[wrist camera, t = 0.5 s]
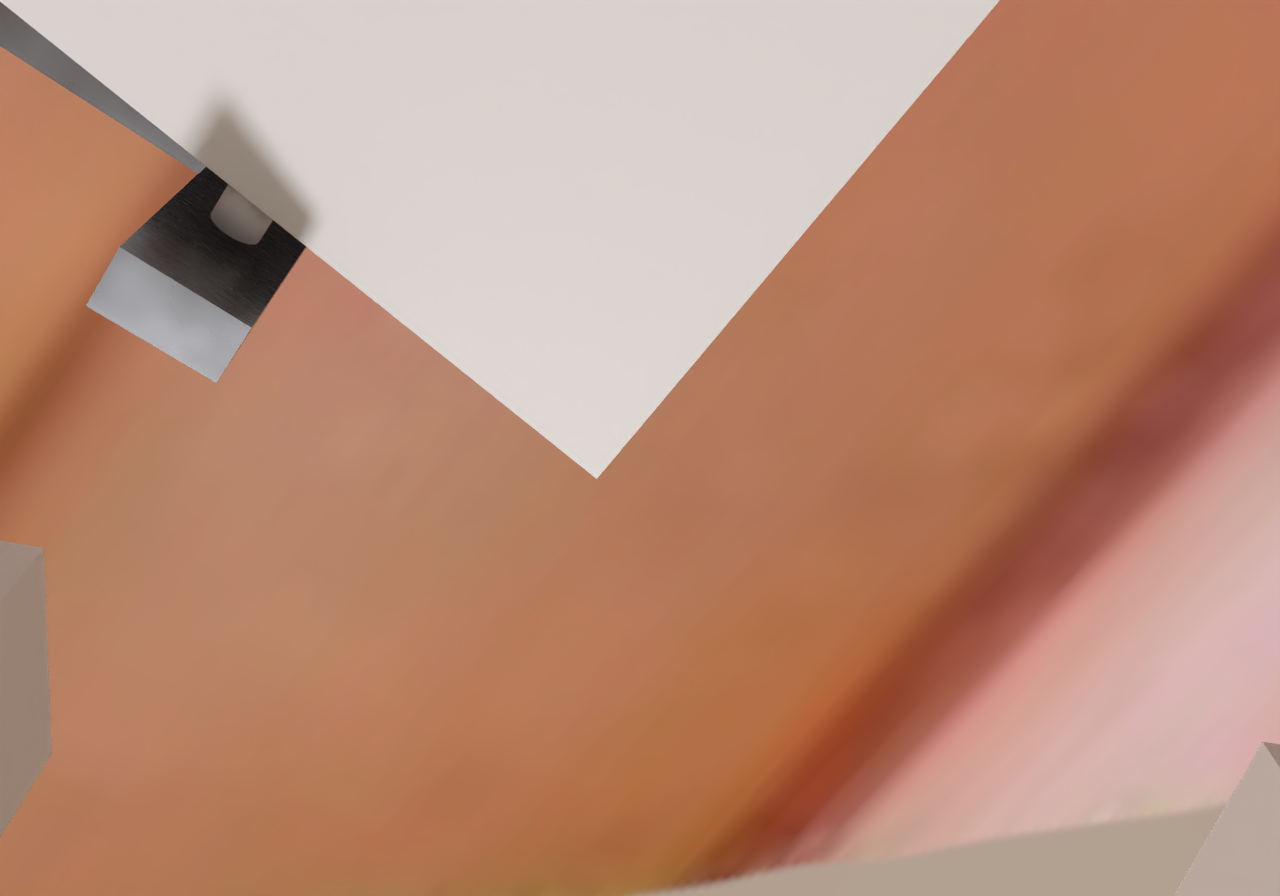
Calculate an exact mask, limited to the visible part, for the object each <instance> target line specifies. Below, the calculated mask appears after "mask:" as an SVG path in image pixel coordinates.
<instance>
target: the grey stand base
mask: <svg viewBox="0 0 1280 896" xmlns="http://www.w3.org/2000/svg"><path fill="white" fill-rule="evenodd" d="M0 46H1V47H3V48H4V49H6V50H8V51H9V52H11V53H12V54H14V55H15V56H17V57H18V58H20V59H21V60H23V61H25V62H26V63H28V64H29V65H31V66H32V67H34V68H35V69H37V70H39V71H40V72H42V73H43V74H45V75H46V76H48V77H49V78H51V79H52V80H54V81H56V82H57V83H59V84H60V85H62V86H63V87H65V88H66V89H68V90H69V91H71V92H73V93H74V94H76V95H77V96H79V97H80V98H82V99H83V100H85V101H87V102H88V103H90V104H91V105H93V106H94V107H96V108H97V109H99V110H100V111H102V112H104V113H105V114H107V115H108V116H110V117H111V118H113V119H114V120H116V121H117V122H119V123H121V124H122V125H124V126H125V127H127V128H128V129H130V130H131V131H133V132H135V133H136V134H138V135H139V136H141V137H142V138H144V139H145V140H147V141H148V142H150V143H152V144H153V145H155V146H156V147H158V148H159V149H161V150H162V151H164V152H166V153H167V154H169V155H170V156H172V157H173V158H175V159H176V160H178V161H179V162H181V163H183V164H184V165H186V166H187V167H189V168H190V169H192V170H193V171H195V172H196V173H198V175H197V176H195V177H194V178H193V179H192V180H191V181H190V182H189V183H188V184H187V185H186V186H185V187H184V188H183V189H181V190H180V191H179V192H178V193H177V194H176V195H175V196H174V197H173V198H172V199H171V200H170V201H169V202H168V203H166V204H165V205H164V206H163V207H162V208H161V209H160V210H159V211H158V212H157V213H156V214H155V215H154V216H152V217H151V218H150V219H149V220H148V221H147V222H146V223H145V224H144V225H143V226H142V227H141V228H140V229H138V230H137V231H136V232H135V233H134V234H133V235H132V236H131V237H130V238H129V239H128V240H127V241H126V242H125V243H123V244H122V245H121V246H120V247H119V249H118V251H117V253H116V254H115V256H114V258H113V260H112V261H111V263H110V265H109V267H108V268H107V270H106V272H105V274H104V275H103V277H102V279H101V281H100V282H99V284H98V286H97V288H96V289H95V291H94V293H93V295H92V296H91V298H90V300H89V302H88V303H87V305H86V306H87V307H89V308H91V309H92V310H94V311H96V312H97V313H99V314H101V315H102V316H104V317H106V318H107V319H109V320H111V321H113V322H114V323H116V324H118V325H119V326H121V327H123V328H124V329H126V330H128V331H130V332H131V333H133V334H135V335H136V336H138V337H140V338H141V339H143V340H145V341H146V342H148V343H150V344H152V345H153V346H155V347H157V348H158V349H160V350H162V351H163V352H165V353H167V354H168V355H170V356H172V357H174V358H175V359H177V360H179V361H180V362H182V363H184V364H185V365H187V366H189V367H190V368H192V369H194V370H196V371H197V372H199V373H201V374H202V375H204V376H206V377H207V378H209V379H211V380H212V381H214V382H217V381H218V379H219V378H220V376H221V375H222V373H223V372H224V370H225V369H226V367H227V366H228V364H229V363H230V361H231V360H232V358H233V357H234V355H235V354H236V352H237V351H238V349H239V348H240V346H241V345H242V343H243V342H244V340H245V339H246V337H247V336H248V334H249V333H250V331H251V330H252V328H253V327H254V325H255V324H256V322H257V321H258V319H259V318H260V316H261V315H262V313H263V312H264V310H265V309H266V307H267V306H268V304H269V303H270V301H271V300H272V298H273V297H274V295H275V294H276V292H277V291H278V289H279V288H280V286H281V285H282V283H283V282H284V280H285V279H286V277H287V276H288V274H289V273H290V271H291V270H292V268H293V267H294V265H295V264H296V262H297V261H298V259H299V258H300V256H301V255H302V253H303V252H304V250H305V249H306V246H305V245H304V244H303V243H301V242H300V241H299V240H298V239H296V238H295V237H294V236H293V235H291V234H290V233H289V232H288V231H286V230H285V229H284V228H283V227H281V226H280V225H279V224H278V223H276V222H275V221H274V220H273V221H272V222H271V224H270V225H269V227H268V229H267V230H266V232H265V233H264V235H263V237H262V238H261V240H260V241H259V243H257V244H246V243H243V242H240V241H237V240H235V239H233V238H231V237H230V236H228V235H227V234H225V233H224V232H222V231H221V230H220V229H219V228H218V227H217V226H216V225H215V224H214V222H213V221H212V219H211V212H212V210H213V209H214V207H215V205H216V204H217V202H218V200H219V199H220V197H221V195H222V194H223V192H224V190H225V189H226V187H227V185H228V183H226V182H225V181H224V180H223V179H221V178H220V177H219V176H218V175H216V174H215V173H214V172H213V171H211V170H210V169H209V168H208V167H206V166H205V165H204V164H203V163H201V162H200V161H199V160H198V159H196V158H195V157H194V156H193V155H191V154H190V153H189V152H188V151H186V150H185V149H184V148H183V147H181V146H180V145H179V144H178V143H176V142H175V141H174V140H173V139H171V138H170V137H169V136H168V135H166V134H165V133H164V132H163V131H161V130H160V129H159V128H158V127H156V126H155V125H154V124H153V123H151V122H150V121H149V120H148V119H146V118H145V117H144V116H143V115H141V114H140V113H139V112H138V111H136V110H135V109H134V108H133V107H131V106H130V105H129V104H128V103H126V102H125V101H124V100H123V99H121V98H120V97H119V96H118V95H116V94H115V93H114V92H113V91H111V90H110V89H109V88H108V87H106V86H105V85H104V84H103V83H101V82H100V81H99V80H98V79H96V78H95V77H94V76H93V75H91V74H90V73H89V72H88V71H86V70H85V69H84V68H83V67H81V66H80V65H79V64H78V63H76V62H75V61H74V60H73V59H71V58H70V57H69V56H68V55H66V54H65V53H64V52H63V51H61V50H60V49H59V48H58V47H56V46H55V45H54V44H53V43H51V42H50V41H49V40H48V39H46V38H45V37H44V36H43V35H41V34H40V33H39V32H38V31H36V30H35V29H34V28H33V27H31V26H30V25H29V24H28V23H26V22H25V21H24V20H23V19H21V18H20V17H19V16H18V15H16V14H15V13H14V12H13V11H11V10H10V9H9V8H8V7H6V6H5V5H4V4H3V3H1V2H0Z"/></svg>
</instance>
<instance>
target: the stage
mask: <svg viewBox="0 0 1280 896" xmlns="http://www.w3.org/2000/svg"><path fill="white" fill-rule="evenodd" d="M0 2H1V3H3V4H4V5H5V6H6V7H8V8H9V9H10V10H11V11H13V12H14V13H15V14H16V15H18V16H19V17H20V18H21V19H23V20H24V21H25V22H26V23H28V24H29V25H30V26H31V27H33V28H34V29H35V30H36V31H38V32H39V33H40V34H41V35H43V36H44V37H45V38H46V39H48V40H49V41H50V42H51V43H53V44H54V45H55V46H56V47H58V48H59V49H60V50H61V51H63V52H64V53H65V54H66V55H68V56H69V57H70V58H71V59H73V60H74V61H75V62H76V63H78V64H79V65H80V66H81V67H83V68H84V69H85V70H86V71H88V72H89V73H90V74H91V75H93V76H94V77H95V78H96V79H98V80H99V81H100V82H101V83H103V84H104V85H105V86H106V87H108V88H109V89H110V90H111V91H113V92H114V93H115V94H116V95H118V96H119V97H120V98H121V99H123V100H124V101H125V102H126V103H128V104H129V105H130V106H131V107H133V108H134V109H135V110H136V111H138V112H139V113H140V114H141V115H143V116H144V117H145V118H146V119H148V120H149V121H150V122H151V123H153V124H154V125H155V126H156V127H158V128H159V129H160V130H161V131H163V132H164V133H165V134H166V135H168V136H169V137H170V138H171V139H173V140H174V141H175V142H176V143H178V144H179V145H180V146H181V147H183V148H184V149H185V150H186V151H188V152H189V153H190V154H191V155H193V156H194V157H195V158H196V159H198V160H199V161H200V162H201V163H203V164H204V165H205V166H206V167H208V168H209V169H210V170H211V171H213V172H214V173H215V174H216V175H218V176H219V177H220V178H221V179H223V180H224V181H225V182H226V183H228V185H227V187H226V189H225V190H224V192H223V194H222V195H221V197H220V199H219V200H218V202H217V204H216V205H215V207H214V209H213V210H212V212H211V219H212V221H213V222H214V224H215V225H216V226H217V227H218V228H219V229H220V230H221V231H222V232H224V233H225V234H227V235H228V236H230V237H231V238H233V239H235V240H237V241H240V242H243V243H246V244H257V243H259V241H260V240H261V238H262V237H263V235H264V233H265V232H266V230H267V229H268V227H269V225H270V224H271V222H272V221H273V220H274V221H275V222H276V223H278V224H279V225H280V226H281V227H283V228H284V229H285V230H286V231H288V232H289V233H290V234H291V235H293V236H294V237H295V238H296V239H298V240H299V241H300V242H301V243H303V244H304V245H305V246H306V247H308V248H309V249H310V250H311V251H313V252H314V253H315V254H316V255H318V256H319V257H320V258H321V259H323V260H324V261H325V262H326V263H328V264H329V265H330V266H331V267H333V268H334V269H335V270H336V271H338V272H339V273H340V274H341V275H343V276H344V277H345V278H346V279H348V280H349V281H350V282H351V283H353V284H354V285H355V286H356V287H358V288H359V289H360V290H361V291H363V292H364V293H365V294H366V295H368V296H369V297H370V298H371V299H373V300H374V301H375V302H376V303H378V304H379V305H380V306H381V307H383V308H384V309H385V310H386V311H388V312H389V313H390V314H391V315H393V316H394V317H395V318H396V319H398V320H399V321H400V322H401V323H403V324H404V325H405V326H406V327H408V328H409V329H410V330H411V331H413V332H414V333H415V334H416V335H418V336H419V337H420V338H421V339H423V340H424V341H425V342H426V343H428V344H429V345H430V346H431V347H433V348H434V349H435V350H436V351H438V352H439V353H440V354H441V355H443V356H444V357H445V358H446V359H448V360H449V361H450V362H451V363H453V364H454V365H455V366H456V367H458V368H459V369H460V370H461V371H463V372H464V373H465V374H466V375H468V376H469V377H470V378H471V379H473V380H474V381H475V382H476V383H478V384H479V385H480V386H481V387H483V388H484V389H485V390H486V391H488V392H489V393H490V394H491V395H493V396H494V397H495V398H496V399H498V400H499V401H500V402H501V403H503V404H504V405H505V406H506V407H508V408H509V409H510V410H511V411H513V412H514V413H515V414H516V415H518V416H519V417H520V418H521V419H523V420H524V421H525V422H526V423H528V424H529V425H530V426H531V427H533V428H534V429H535V430H536V431H538V432H539V433H540V434H541V435H543V436H544V437H545V438H546V439H548V440H549V441H550V442H551V443H553V444H554V445H555V446H556V447H558V448H559V449H560V450H561V451H563V452H564V453H565V454H566V455H568V456H569V457H570V458H571V459H573V460H574V461H575V462H576V463H578V464H579V465H580V466H581V467H583V468H584V469H585V470H586V471H588V472H589V473H590V474H591V475H593V476H594V477H595V478H596V479H597V478H598V477H599V475H600V474H601V473H602V472H603V471H604V470H605V468H606V467H607V466H608V465H609V464H610V462H611V461H612V460H613V459H614V458H615V456H616V455H617V454H618V453H619V452H620V451H621V449H622V448H623V447H624V446H625V445H626V443H627V442H628V441H629V440H630V439H631V437H632V436H633V435H634V434H635V433H636V432H637V430H638V429H639V428H640V427H641V426H642V424H643V423H644V422H645V421H646V420H647V418H648V417H649V416H650V415H651V414H652V413H653V411H654V410H655V409H656V408H657V407H658V405H659V404H660V403H661V402H662V401H663V399H664V398H665V397H666V396H667V395H668V394H669V392H670V391H671V390H672V389H673V388H674V386H675V385H676V384H677V383H678V382H679V380H680V379H681V378H682V377H683V376H684V375H685V373H686V372H687V371H688V370H689V369H690V367H691V366H692V365H693V364H694V363H695V361H696V360H697V359H698V358H699V357H700V356H701V354H702V353H703V352H704V351H705V350H706V348H707V347H708V346H709V345H710V344H711V342H712V341H713V340H714V339H715V338H716V337H717V335H718V334H719V333H720V332H721V331H722V329H723V328H724V327H725V326H726V325H727V323H728V322H729V321H730V320H731V319H732V318H733V316H734V315H735V314H736V313H737V312H738V310H739V309H740V308H741V307H742V306H743V304H744V303H745V302H746V301H747V300H748V299H749V297H750V296H751V295H752V294H753V293H754V291H755V290H756V289H757V288H758V287H759V285H760V284H761V283H762V282H763V281H764V280H765V278H766V277H767V276H768V275H769V274H770V272H771V271H772V270H773V269H774V268H775V266H776V265H777V264H778V263H779V262H780V261H781V259H782V258H783V257H784V256H785V255H786V253H787V252H788V251H789V250H790V249H791V247H792V246H793V245H794V244H795V243H796V242H797V240H798V239H799V238H800V237H801V236H802V234H803V233H804V232H805V231H806V230H807V228H808V227H809V226H810V225H811V224H812V223H813V221H814V220H815V219H816V218H817V217H818V215H819V214H820V213H821V212H822V211H823V209H824V208H825V207H826V206H827V205H828V204H829V202H830V201H831V200H832V199H833V198H834V196H835V195H836V194H837V193H838V192H839V190H840V189H841V188H842V187H843V186H844V185H845V183H846V182H847V181H848V180H849V179H850V177H851V176H852V175H853V174H854V173H855V171H856V170H857V169H858V168H859V167H860V165H861V164H862V163H863V162H864V161H865V160H866V158H867V157H868V156H869V155H870V154H871V152H872V151H873V150H874V149H875V148H876V146H877V145H878V144H879V143H880V142H881V141H882V139H883V138H884V137H885V136H886V135H887V133H888V132H889V131H890V130H891V129H892V127H893V126H894V125H895V124H896V123H897V122H898V120H899V119H900V118H901V117H902V116H903V114H904V113H905V112H906V111H907V110H908V108H909V107H910V106H911V105H912V104H913V103H914V101H915V100H916V99H917V98H918V97H919V95H920V94H921V93H922V92H923V91H924V89H925V88H926V87H927V86H928V85H929V84H930V82H931V81H932V80H933V79H934V78H935V76H936V75H937V74H938V73H939V72H940V70H941V69H942V68H943V67H944V66H945V65H946V63H947V62H948V61H949V60H950V59H951V57H952V56H953V55H954V54H955V53H956V51H957V50H958V49H959V48H960V47H961V46H962V44H963V43H964V42H965V41H966V40H967V38H968V37H969V36H970V35H971V34H972V32H973V31H974V30H975V29H976V28H977V27H978V25H979V24H980V23H981V22H982V21H983V19H984V18H985V17H986V16H987V15H988V13H989V12H990V11H991V10H992V9H993V8H994V6H995V5H996V4H997V3H998V2H999V0H0Z"/></svg>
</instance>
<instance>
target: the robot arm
mask: <svg viewBox="0 0 1280 896" xmlns="http://www.w3.org/2000/svg"><path fill="white" fill-rule="evenodd" d="M51 754H52V737H51V713H50V689H49V665H48V642H47V618H46V594H45V570H44V548H42V547H36V546H29V545H23V544H17V543H11V542H4V541H0V837H1V835H2V833H3V832H4V830H5V828H6V827H7V825H8V824H9V822H10V820H11V819H12V817H13V816H14V814H15V812H16V811H17V809H18V807H19V806H20V804H21V803H22V801H23V799H24V798H25V796H26V795H27V793H28V791H29V790H30V788H31V786H32V785H33V783H34V782H35V780H36V778H37V777H38V775H39V774H40V772H41V770H42V769H43V767H44V765H45V764H46V762H47V761H48V759H49V757H50V756H51ZM1174 896H1280V745H1279V744H1273V743H1267V742H1262V744H1261V746H1260V747H1259V749H1258V751H1257V753H1256V754H1255V756H1254V758H1253V759H1252V761H1251V763H1250V765H1249V766H1248V768H1247V770H1246V772H1245V773H1244V775H1243V777H1242V779H1241V780H1240V782H1239V784H1238V785H1237V787H1236V789H1235V791H1234V792H1233V794H1232V796H1231V798H1230V799H1229V801H1228V803H1227V804H1226V806H1225V808H1224V810H1223V811H1222V813H1221V815H1220V817H1219V818H1218V820H1217V822H1216V824H1215V825H1214V827H1213V829H1212V831H1211V832H1210V834H1209V836H1208V838H1207V839H1206V841H1205V843H1204V844H1203V846H1202V848H1201V850H1200V851H1199V853H1198V855H1197V857H1196V858H1195V860H1194V862H1193V864H1192V865H1191V867H1190V869H1189V870H1188V872H1187V874H1186V876H1185V877H1184V879H1183V881H1182V882H1181V884H1180V886H1179V888H1178V889H1177V891H1176V893H1175V895H1174Z"/></svg>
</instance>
